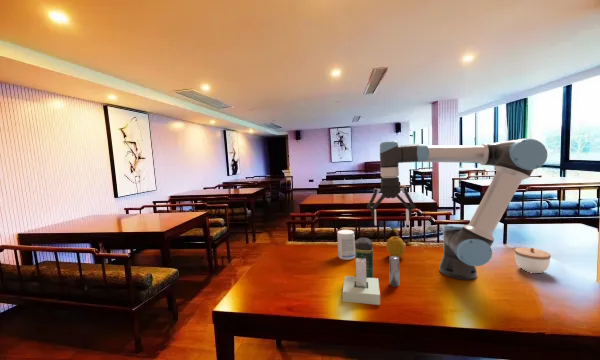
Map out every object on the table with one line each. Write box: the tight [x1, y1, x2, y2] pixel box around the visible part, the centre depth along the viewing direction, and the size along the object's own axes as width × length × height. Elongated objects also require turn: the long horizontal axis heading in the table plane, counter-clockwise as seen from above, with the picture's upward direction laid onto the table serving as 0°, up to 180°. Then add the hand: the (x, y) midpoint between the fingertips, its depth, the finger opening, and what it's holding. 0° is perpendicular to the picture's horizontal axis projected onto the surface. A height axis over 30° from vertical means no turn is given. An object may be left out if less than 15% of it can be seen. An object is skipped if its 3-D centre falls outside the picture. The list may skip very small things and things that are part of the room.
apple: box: [386, 236, 406, 259], centre depth 145 cm, size 10×10×12 cm
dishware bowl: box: [514, 247, 551, 274], centre depth 123 cm, size 13×13×11 cm
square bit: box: [355, 258, 366, 288], centre depth 107 cm, size 4×4×14 cm
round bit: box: [388, 255, 400, 287], centre depth 114 cm, size 4×4×12 cm
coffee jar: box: [354, 237, 374, 278], centre depth 120 cm, size 10×8×19 cm
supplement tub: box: [336, 229, 356, 261], centre depth 147 cm, size 10×10×15 cm
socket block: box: [342, 275, 381, 306], centre depth 107 cm, size 14×14×4 cm
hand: (391, 224), depth 116 cm, fingers open, 13 cm apart
